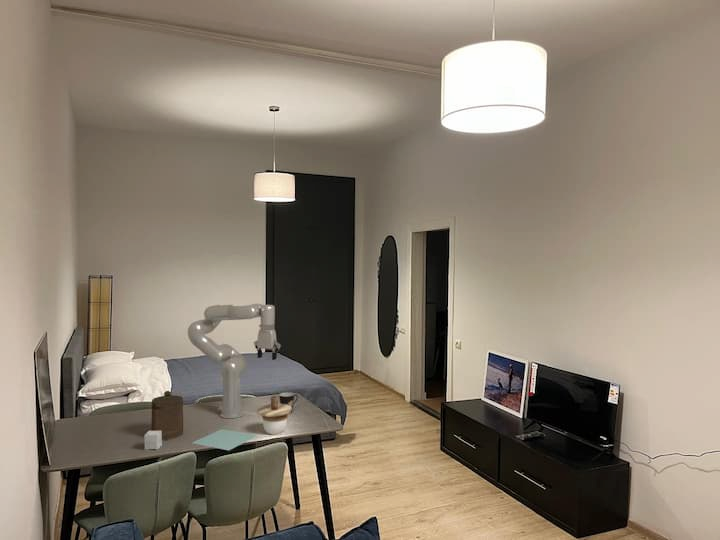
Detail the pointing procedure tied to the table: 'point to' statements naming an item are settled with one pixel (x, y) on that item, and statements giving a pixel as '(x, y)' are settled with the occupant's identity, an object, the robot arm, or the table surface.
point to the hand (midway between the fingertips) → (266, 358)
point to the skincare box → (153, 439)
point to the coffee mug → (287, 399)
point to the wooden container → (168, 415)
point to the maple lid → (274, 409)
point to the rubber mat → (224, 439)
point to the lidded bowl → (275, 424)
